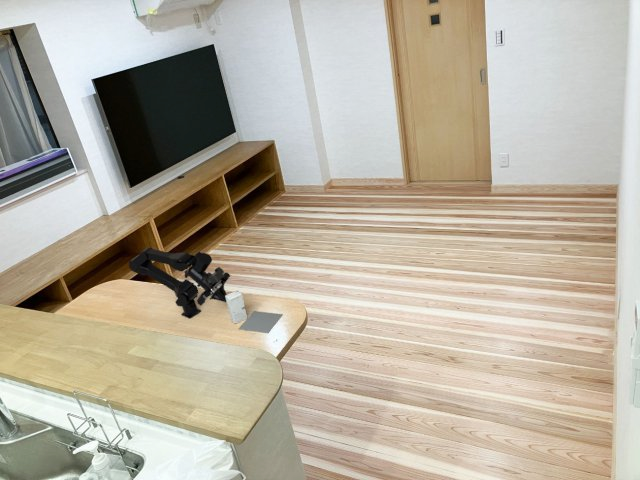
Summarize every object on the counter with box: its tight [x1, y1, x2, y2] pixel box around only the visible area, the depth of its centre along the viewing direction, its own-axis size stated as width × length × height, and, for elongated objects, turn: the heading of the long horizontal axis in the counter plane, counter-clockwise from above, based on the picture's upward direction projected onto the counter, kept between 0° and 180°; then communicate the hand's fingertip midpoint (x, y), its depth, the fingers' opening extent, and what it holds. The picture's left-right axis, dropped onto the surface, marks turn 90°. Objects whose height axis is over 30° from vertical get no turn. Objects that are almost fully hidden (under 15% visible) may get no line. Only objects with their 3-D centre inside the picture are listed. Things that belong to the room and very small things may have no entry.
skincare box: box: [225, 290, 248, 325], centre depth 215 cm, size 6×4×12 cm
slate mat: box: [237, 310, 283, 334], centre depth 213 cm, size 14×13×1 cm
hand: (229, 301), depth 215 cm, fingers closed
